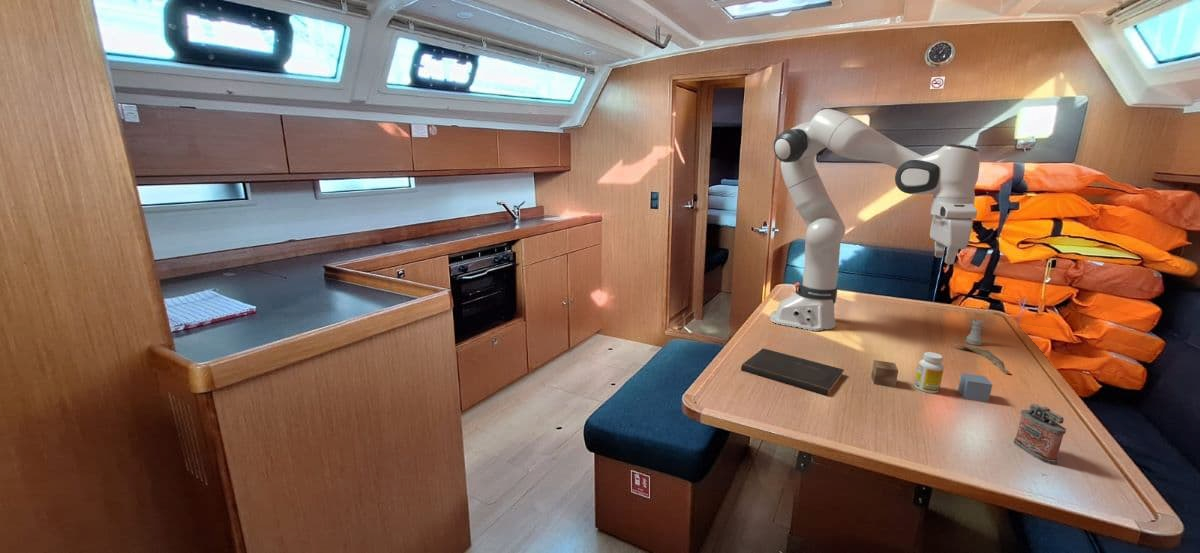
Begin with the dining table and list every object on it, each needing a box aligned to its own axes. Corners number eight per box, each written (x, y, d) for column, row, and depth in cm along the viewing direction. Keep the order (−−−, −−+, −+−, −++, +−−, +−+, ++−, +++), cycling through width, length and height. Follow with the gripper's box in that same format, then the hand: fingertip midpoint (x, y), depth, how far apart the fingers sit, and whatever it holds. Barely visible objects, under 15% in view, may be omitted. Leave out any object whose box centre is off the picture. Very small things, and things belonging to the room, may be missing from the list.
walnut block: (873, 384, 126) (876, 367, 125) (871, 376, 131) (873, 360, 130) (895, 387, 124) (898, 370, 123) (891, 379, 129) (894, 363, 128)
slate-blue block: (963, 399, 119) (967, 380, 118) (957, 390, 123) (961, 372, 122) (988, 403, 117) (992, 384, 116) (981, 394, 122) (985, 376, 120)
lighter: (1008, 441, 101) (1019, 398, 99) (1023, 440, 101) (1034, 398, 99) (1046, 464, 93) (1058, 419, 91) (1061, 464, 93) (1074, 418, 91)
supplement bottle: (909, 386, 125) (916, 352, 123) (922, 382, 127) (928, 349, 125) (931, 395, 120) (938, 360, 118) (943, 391, 123) (950, 357, 120)
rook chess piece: (975, 341, 157) (980, 318, 155) (985, 346, 153) (990, 322, 151) (961, 340, 158) (966, 317, 156) (970, 345, 153) (975, 322, 151)
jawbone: (975, 349, 153) (977, 343, 152) (1037, 378, 133) (1039, 372, 133) (950, 348, 152) (952, 342, 151) (1008, 377, 132) (1010, 370, 132)
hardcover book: (762, 355, 146) (762, 348, 145) (843, 377, 132) (844, 369, 131) (740, 372, 134) (741, 364, 133) (826, 398, 120) (827, 390, 119)
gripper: (927, 205, 134) (920, 253, 137) (948, 211, 115) (940, 267, 118) (954, 205, 131) (946, 254, 134) (980, 212, 113) (970, 268, 116)
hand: (943, 260), depth 126 cm, fingers open, 8 cm apart
